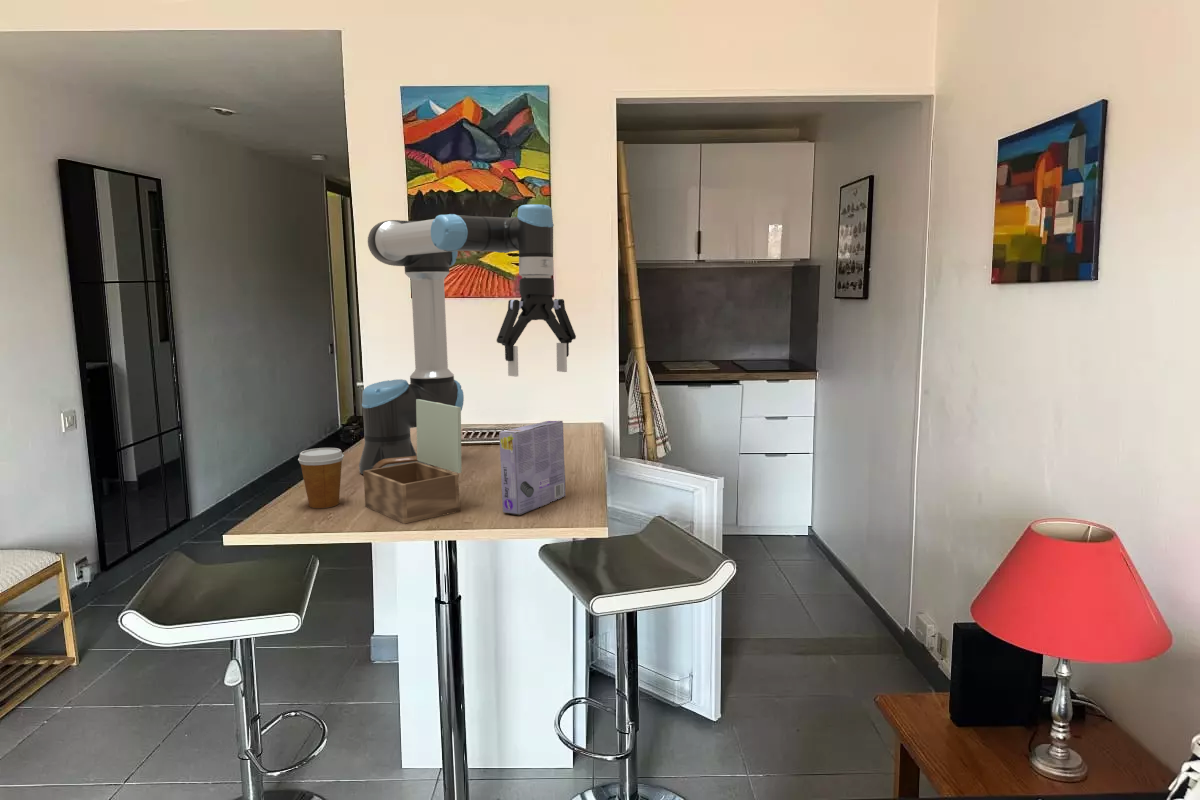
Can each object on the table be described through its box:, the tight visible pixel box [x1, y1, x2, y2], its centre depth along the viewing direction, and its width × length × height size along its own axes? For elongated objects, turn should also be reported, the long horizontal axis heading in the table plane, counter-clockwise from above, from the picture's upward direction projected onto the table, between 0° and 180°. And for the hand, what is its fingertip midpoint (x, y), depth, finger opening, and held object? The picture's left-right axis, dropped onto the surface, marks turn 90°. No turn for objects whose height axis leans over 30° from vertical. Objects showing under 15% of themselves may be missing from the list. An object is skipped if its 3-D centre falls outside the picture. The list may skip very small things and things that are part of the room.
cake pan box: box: [498, 420, 566, 516], centre depth 172 cm, size 19×5×18 cm, turn 149°
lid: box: [416, 399, 462, 474], centre depth 173 cm, size 18×14×1 cm
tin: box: [372, 456, 435, 469], centre depth 184 cm, size 15×3×8 cm, turn 117°
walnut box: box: [363, 462, 461, 525], centre depth 170 cm, size 18×13×8 cm
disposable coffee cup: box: [297, 447, 345, 509], centre depth 175 cm, size 10×10×12 cm
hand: (538, 373), depth 176 cm, fingers open, 13 cm apart
